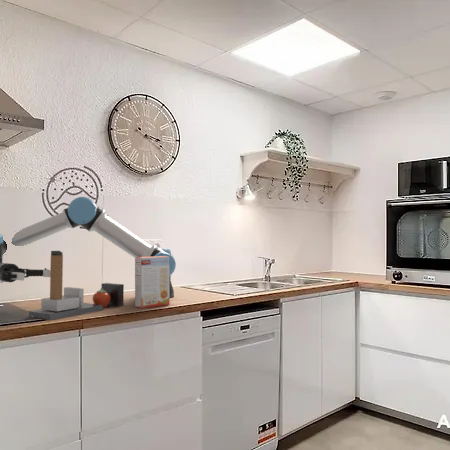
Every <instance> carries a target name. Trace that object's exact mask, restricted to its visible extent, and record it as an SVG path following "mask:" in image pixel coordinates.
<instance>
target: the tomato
mask: <svg viewBox="0 0 450 450" xmlns="http://www.w3.org/2000/svg"><path fill="white" fill-rule="evenodd" d="M91 298H92V302H93V303H92V304H98V305H103V309H105V308H107V307H108V306H109V305H108V304H109V303H110V300H111V296H110V294H109V293H107V292H106V291H105V290H103V288H100V289H99V290H97V291H96V292H95V293H94V294H93V295H92V297H91Z"/></svg>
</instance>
